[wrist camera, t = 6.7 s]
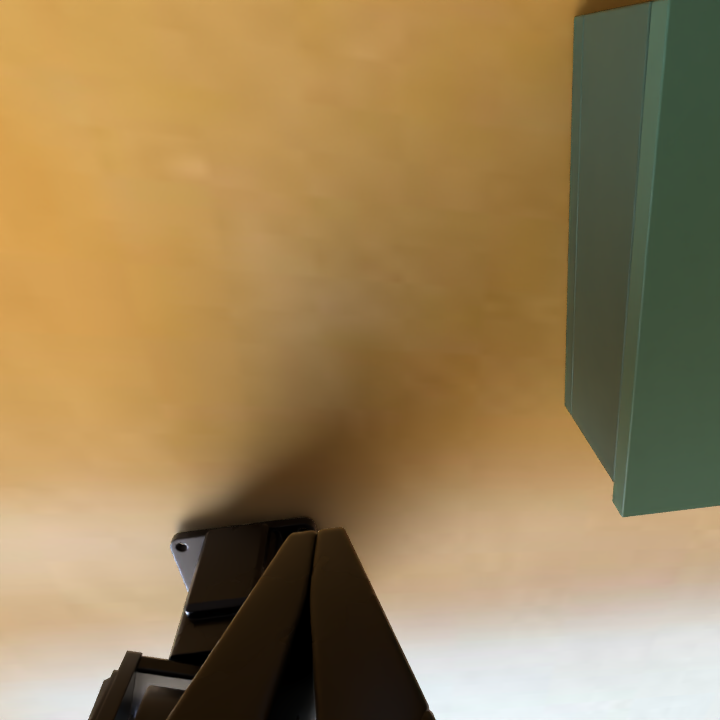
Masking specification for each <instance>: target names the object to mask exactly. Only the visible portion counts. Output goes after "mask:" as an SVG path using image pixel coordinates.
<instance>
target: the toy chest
mask: <svg viewBox="0 0 720 720" xmlns="http://www.w3.org/2000/svg"><path fill="white" fill-rule="evenodd" d="M653 1H654V0H653ZM653 1H648V2H643V3H638V4H633V5H628V6H623V7H619V8H614V9H609V10H604V11H599V12H594V13H589V14H584V15H579V16H576V17H575V18H574V45H573V86H572V126H571V167H570V208H569V248H568V289H567V329H566V370H565V406H566V408H567V410H568V411H569V413H570V414H571V415H572V417H573V419H574V421H575V422H576V424H577V425H578V427H579V429H580V430H581V432H582V433H583V435H584V436H585V438H586V440H587V441H588V443H589V444H590V446H591V447H592V449H593V451H594V452H595V454H596V455H597V457H598V458H599V460H600V462H601V463H602V465H603V466H604V468H605V469H606V471H607V473H608V474H609V476H610V477H611V479H612V480H613V482H614V475H615V463H616V450H617V437H618V425H619V412H620V399H621V387H622V374H623V362H624V349H625V336H626V324H627V311H628V298H629V286H630V273H631V261H632V248H633V235H634V223H635V210H636V197H637V185H638V172H639V160H640V147H641V134H642V122H643V109H644V96H645V84H646V71H647V59H648V46H649V33H650V21H651V8H652V2H653Z"/></svg>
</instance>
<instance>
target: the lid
mask: <svg viewBox="0 0 720 720" xmlns="http://www.w3.org/2000/svg"><path fill="white" fill-rule="evenodd" d="M613 503H614V505H615V506H616V508H617V510H618V511H619V513H620V515H621V516H622V517H629V516H637V515H645V514H654V513H662V512H670V511H678V510H687V509H695V508H703V507H711V506H720V0H654V1H653V2H652V8H651V21H650V33H649V46H648V59H647V71H646V84H645V96H644V109H643V122H642V134H641V147H640V160H639V172H638V185H637V197H636V210H635V223H634V235H633V248H632V261H631V273H630V286H629V298H628V311H627V324H626V336H625V349H624V362H623V374H622V387H621V399H620V412H619V425H618V437H617V450H616V463H615V475H614V488H613Z"/></svg>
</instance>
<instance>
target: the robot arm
mask: <svg viewBox="0 0 720 720" xmlns="http://www.w3.org/2000/svg"><path fill="white" fill-rule="evenodd" d="M301 528H306V529H308V530H302V529H301ZM180 543H183V544H185V545H182V544H180ZM170 548H171V551H172V554H173V556H174V558H175V561H176V563H177V566H178V568H179V571H180V573H181V576H182V578H183V581H184V583H185V586H186V588H187V591H188V595H187V598H186V601H185V605H184V610H183V613H182V616H181V620H180V623H179V626H178V630H177V633H176V636H175V640H174V643H173V646H172V650H171V653H170V656H169V660H168V659H161V658H154V657H148V656H142V653H139V652H133V651H127V652H126V654H125V657H124V659H123V661H122V663H121V665H120V667H119V670H114V671H113V673H112V675H111V677H110V678H108V679H106V680H104V681H103V684H102V687H101V689H100V692H99V694H98V697H97V699H96V702H95V704H94V707H93V709H92V712H91V714H90V717H89V719H88V720H436V719H435V717H434V715H433V713H432V712H431V711H430V710H429V705H428V703H427V701H426V699H425V697H424V695H423V693H422V690H421V688H420V686H419V684H418V682H417V680H416V678H415V676H414V674H413V672H412V669H411V667H410V665H409V663H408V661H407V659H406V657H405V655H404V653H403V651H402V648H401V646H400V644H399V642H398V640H397V638H396V636H395V634H394V632H393V629H392V627H391V625H390V623H389V621H388V619H387V617H386V615H385V613H384V611H383V608H382V606H381V604H380V602H379V600H378V598H377V596H376V594H375V592H374V589H373V587H372V585H371V583H370V581H369V579H368V577H367V575H366V573H365V571H364V568H363V566H362V564H361V562H360V560H359V558H358V556H357V554H356V552H355V550H354V547H353V545H352V543H351V541H350V539H349V537H348V535H347V533H346V531H345V529H344V528H342V527H335V528H327V529H321V530H319V531H318V533H317V529H316V524H315V523H314V521H313V520H312V519H310V518H306V517H301V518H293V519H285V520H277V521H269V522H261V523H253V524H245V525H237V526H229V527H221V528H213V529H205V530H197V531H189V532H181V533H177V534H176V535H174V537H173V539H172V542H171V545H170Z"/></svg>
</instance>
